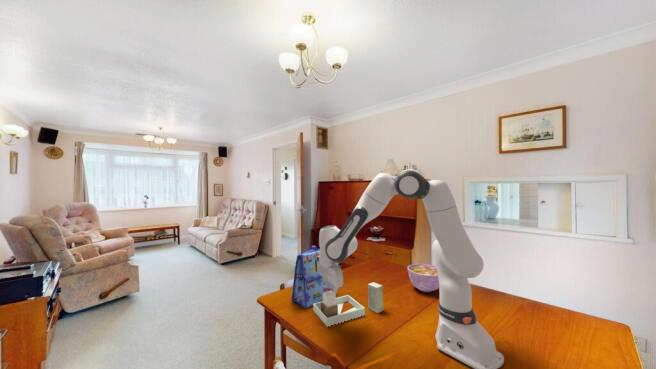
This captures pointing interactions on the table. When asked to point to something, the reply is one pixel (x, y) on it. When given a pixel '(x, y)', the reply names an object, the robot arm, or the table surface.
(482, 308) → the table surface
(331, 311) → the walnut block
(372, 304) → the skincare box
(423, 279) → the bowl of food
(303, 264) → the lunch bag
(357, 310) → the tray
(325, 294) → the cream cube
